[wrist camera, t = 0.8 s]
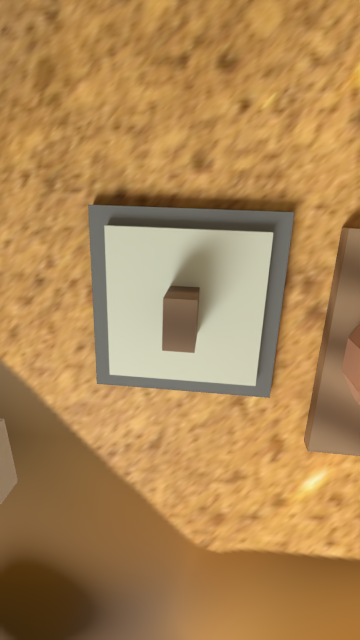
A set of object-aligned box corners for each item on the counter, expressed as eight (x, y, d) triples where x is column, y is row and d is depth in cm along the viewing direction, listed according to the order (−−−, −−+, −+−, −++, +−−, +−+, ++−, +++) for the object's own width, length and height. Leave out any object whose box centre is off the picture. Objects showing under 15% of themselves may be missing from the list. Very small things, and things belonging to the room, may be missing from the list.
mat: (92, 204, 28) (88, 204, 27) (291, 211, 27) (294, 212, 26) (100, 378, 33) (96, 383, 32) (267, 392, 32) (269, 397, 31)
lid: (107, 224, 28) (85, 228, 23) (271, 231, 26) (283, 237, 22) (112, 370, 32) (94, 398, 27) (254, 381, 31) (261, 412, 26)
